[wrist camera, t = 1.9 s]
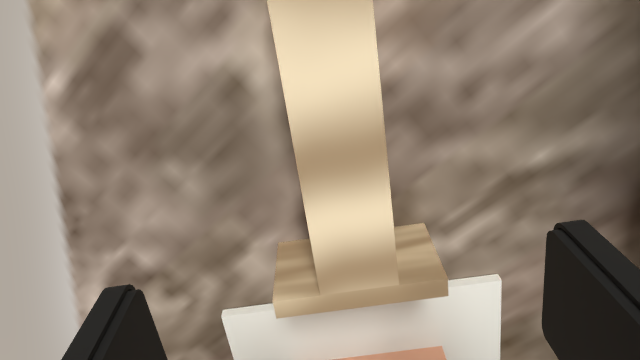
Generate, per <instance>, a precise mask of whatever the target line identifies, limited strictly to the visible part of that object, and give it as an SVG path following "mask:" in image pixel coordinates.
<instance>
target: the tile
mask: <svg viewBox="0 0 640 360" xmlns="http://www.w3.org/2000/svg"><path fill="white" fill-rule="evenodd" d="M332 360H447V359H446V356H445V353H444V351H443V348H442V346H436V347H428V348H420V349H412V350H404V351H396V352H388V353H380V354H372V355H364V356H356V357H348V358H340V359H332Z"/></svg>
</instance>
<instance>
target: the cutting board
mask: <svg viewBox="0 0 640 360" xmlns="http://www.w3.org/2000/svg"><path fill="white" fill-rule="evenodd" d="M448 295H449V296H445V297H438V298H430V299H423V300H415V301H407V302H400V303H392V304H384V305H377V306H369V307H362V308H354V309H346V310H339V311H331V312H323V313H316V314H308V315H301V316H293V317H285V318H278V319H276V314H275V310H274V306H273V303H272V304H264V305H256V306H249V307H241V308H233V309H226V310H223V312H222V316H221V318H222V321H223V324H224V328H225V331H226V335H227V338H228V341H229V345H230V348H231V351H232V355H233V358H234V360H332V359H340V358H348V357H356V356H364V355H372V354H380V353H388V352H396V351H404V350H412V349H420V348H428V347H436V346H442V348H443V351H444V353H445V356H446V359H447V360H500V333H501V279H500V277H499V275H498V274H494V275H486V276H479V277H471V278H463V279H456V280H448Z"/></svg>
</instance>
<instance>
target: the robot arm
mask: <svg viewBox="0 0 640 360" xmlns="http://www.w3.org/2000/svg"><path fill="white" fill-rule="evenodd" d="M542 329H543V333H544V336H545V338H546V340H547V342H548V343H549V345H550V346H551V348H552V349H553V351H554V353H555V354H556V356H557V357H558V359H559V360H640V270H639V269H638V268H637V267H636V266H635V265H634V264H633V263H632V262H630V261H629V260H628V259H627V258H626V257H625V256H624V255H623V254H622V253H621V252H620V251H618V250H617V249H616V248H615V247H614V246H613V245H612V244H611V243H610V242H609V241H608V240H606V239H605V238H604V237H603V236H602V235H601V234H600V233H599V232H598V231H597V230H595V229H594V228H593V227H592V226H591V225H590V224H589V223H588V222H586V221H585V220H577V221H570V222H563V223H557V224H556V225H555V227H554V230H552V231H549V232H548V233H547V239H546V257H545V275H544V293H543V311H542ZM62 360H167V357H166V354H165V351H164V349H163V346H162V343H161V340H160V338H159V335H158V332H157V329H156V327H155V324H154V321H153V318H152V316H151V313H150V310H149V307H148V305H147V302H146V299H145V296H144V294H143V292H142V291H141V290H139V289H138V290H135V288H134V287H133V285H130V284H129V285H122V286H115V287H108V288H105V289H104V290H103V291H102V293H101V294H100V296H99V298H98V299H97V301H96V303H95V304H94V306H93V308H92V309H91V311H90V313H89V314H88V316H87V318H86V319H85V321H84V323H83V324H82V326H81V328H80V329H79V331H78V333H77V334H76V336H75V338H74V339H73V341H72V343H71V344H70V346H69V348H68V350H67V351H66V353H65V355H64V356H63V358H62Z"/></svg>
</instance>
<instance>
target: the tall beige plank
mask: <svg viewBox="0 0 640 360" xmlns="http://www.w3.org/2000/svg"><path fill="white" fill-rule="evenodd" d="M267 4H268V9H269V15H270V20H271V26H272V31H273V37H274V42H275V48H276V53H277V59H278V64H279V70H280V75H281V81H282V87H283V92H284V98H285V103H286V109H287V114H288V120H289V125H290V131H291V136H292V142H293V147H294V153H295V158H296V164H297V170H298V175H299V181H300V186H301V192H302V197H303V203H304V208H305V214H306V219H307V225H308V230H309V236H310V239H303V240H296V241H289V242H281V243H278V250H277V261H276V271H275V281H274V292H273V306H274V310H275V314H276V319H278V318H285V317H293V316H301V315H308V314H316V313H323V312H331V311H339V310H346V309H354V308H362V307H369V306H377V305H384V304H392V303H400V302H407V301H415V300H423V299H430V298H438V297H445V296H449V295H448V278H447V275H446V273H445V271H444V268H443V266H442V264H441V261H440V259H439V257H438V254H437V252H436V250H435V247H434V245H433V243H432V240H431V238H430V236H429V233H428V231H427V229H426V226H425V224H424V223H421V224H413V225H406V226H399V227H394V225H393V214H392V203H391V192H390V182H389V171H388V160H387V149H386V139H385V128H384V117H383V107H382V96H381V85H380V74H379V64H378V53H377V42H376V32H375V21H374V10H373V0H267Z"/></svg>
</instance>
